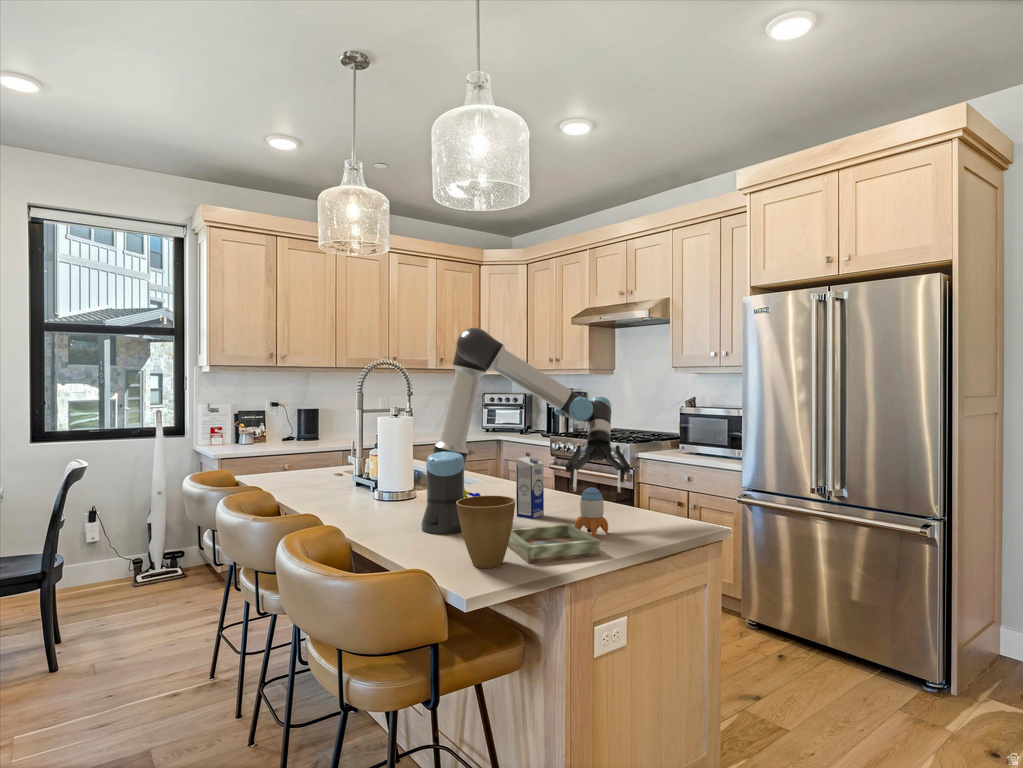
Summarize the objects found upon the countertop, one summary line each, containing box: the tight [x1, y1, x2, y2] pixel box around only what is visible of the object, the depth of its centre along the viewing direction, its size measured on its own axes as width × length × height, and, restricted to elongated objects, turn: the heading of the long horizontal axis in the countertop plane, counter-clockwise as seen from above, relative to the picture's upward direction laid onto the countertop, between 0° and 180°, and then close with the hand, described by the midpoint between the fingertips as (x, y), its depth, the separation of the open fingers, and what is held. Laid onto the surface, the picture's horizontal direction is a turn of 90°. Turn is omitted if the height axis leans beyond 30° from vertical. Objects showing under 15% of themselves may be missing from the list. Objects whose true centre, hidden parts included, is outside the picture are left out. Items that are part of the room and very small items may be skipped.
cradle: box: [507, 523, 601, 564], centre depth 164 cm, size 20×20×4 cm
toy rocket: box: [573, 487, 609, 539], centre depth 179 cm, size 10×11×15 cm
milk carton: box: [515, 456, 545, 520], centre depth 207 cm, size 7×7×20 cm
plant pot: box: [456, 495, 517, 569], centre depth 152 cm, size 15×15×16 cm
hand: (596, 489), depth 186 cm, fingers open, 13 cm apart
